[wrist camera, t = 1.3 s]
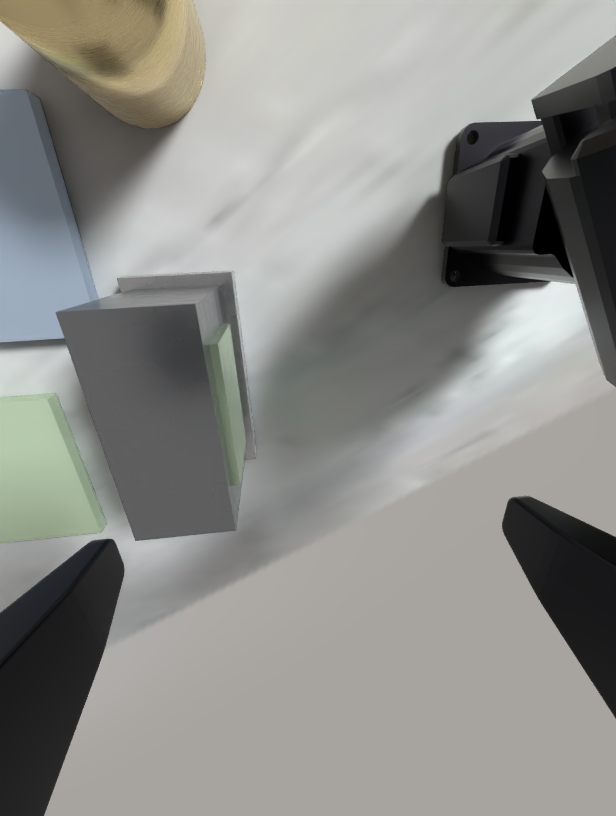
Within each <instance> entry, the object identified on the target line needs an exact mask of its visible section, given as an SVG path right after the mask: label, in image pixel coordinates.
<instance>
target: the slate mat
mask: <svg viewBox="0 0 616 816" xmlns="http://www.w3.org/2000/svg"><path fill="white" fill-rule="evenodd" d="M95 300H98V296H97V292H96V289H95V286H94V282H93V279H92V275H91V272H90V268H89V265H88V262H87V258H86V255H85V251H84V248H83V245H82V241H81V238H80V234H79V231H78V228H77V224H76V221H75V217H74V214H73V211H72V207H71V204H70V200H69V197H68V194H67V190H66V187H65V183H64V180H63V177H62V173H61V170H60V166H59V163H58V160H57V156H56V153H55V149H54V146H53V143H52V139H51V136H50V132H49V129H48V125H47V122H46V119H45V115H44V112H43V108H42V105H41V102H40V98H38V97H37V96H35V95H34V94H32V93H31V92H29V91H28V90H26V89H23V90H0V342H13V341H29V340H44V339H60V338H64V336H63V333H62V330H61V327H60V324H59V321H58V318H57V316H56V313H55V312H57V311H61V310H64V309H67V308H71V307H74V306H78V305H81V304H84V303H88V302H91V301H95Z"/></svg>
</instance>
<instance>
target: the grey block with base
mask: <svg viewBox="0 0 616 816" xmlns="http://www.w3.org/2000/svg"><path fill="white" fill-rule="evenodd" d="M117 280H118V284H119V288H120V292H121V293H118V294H115V295H112V296H108V297H105V298H101V299H98V300H95V301H91V302H88V303H84V304H81V305H78V306H74V307H71V308H67V309H64V310H61V311H57V312H55V313H56V316H57V318H58V321H59V324H60V327H61V330H62V333H63V336H64V338H65V341H66V344H67V347H68V350H69V353H70V355H71V358H72V361H73V364H74V367H75V370H76V373H77V375H78V378H79V381H80V384H81V387H82V390H83V393H84V395H85V398H86V401H87V404H88V407H89V410H90V412H91V415H92V418H93V421H94V424H95V427H96V430H97V432H98V435H99V438H100V441H101V444H102V447H103V450H104V452H105V455H106V458H107V461H108V464H109V467H110V469H111V472H112V475H113V478H114V481H115V484H116V487H117V489H118V492H119V495H120V498H121V501H122V504H123V507H124V509H125V512H126V515H127V518H128V521H129V524H130V526H131V529H132V532H133V535H134V538H135V541H139V540H149V539H159V538H168V537H178V536H187V535H197V534H207V533H216V532H226V531H235V530H236V525H237V517H238V510H239V502H240V494H241V486H242V478H243V470H244V463H245V460H246V459H256V443H255V435H254V427H253V419H252V411H251V403H250V396H249V388H248V380H247V372H246V364H245V356H244V349H243V341H242V333H241V325H240V317H239V309H238V302H237V294H236V286H235V278H234V271H222V272H203V273H185V274H166V275H147V276H129V277H121V278H117Z"/></svg>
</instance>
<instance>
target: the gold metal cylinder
mask: <svg viewBox="0 0 616 816" xmlns="http://www.w3.org/2000/svg"><path fill="white" fill-rule="evenodd" d="M0 21H1V22H2V23H3V24H4V25H5V26H7V27H8V28H9V29H10V30H11V31H13V32H14V33H15V34H16V35H17V36H19V37H20V38H21V39H22V40H23V41H25V42H26V43H27V44H28V45H29V46H31V47H32V48H33V49H34V50H35V51H37V52H38V53H39V54H40V55H41V56H43V57H44V58H45V59H46V60H47V61H49V62H50V63H51V64H52V65H53V66H55V67H56V68H57V69H58V70H59V71H61V72H62V73H63V74H64V75H65V76H67V77H68V78H69V79H70V80H71V81H72V82H74V83H75V84H76V85H77V86H78V87H80V88H81V89H82V90H83V91H84V92H86V93H87V94H88V95H89V96H90V97H92V98H93V99H94V100H95V101H96V102H98V103H99V104H100V105H101V106H102V107H104V108H105V109H106V110H107V111H108V112H110V113H111V114H112V115H114V116H115V117H117V118H118V119H120V120H122V121H124V122H126V123H128V124H131V125H134V126H137V127H142V128H161V127H165V126H168V125H170V124H173V123H175V122H176V121H178V120H179V119H181V118H182V117H183V116H184V115H185V114H186V113H187V112H188V111H189V110H190V109H191V107H192V106H193V105H194V103H195V101H196V99H197V97H198V95H199V93H200V90H201V87H202V84H203V79H204V74H205V61H206V54H205V43H204V37H203V32H202V28H201V25H200V21H199V18H198V15H197V12H196V8H195V5H194V2H193V0H0Z"/></svg>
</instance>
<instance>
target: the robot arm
mask: <svg viewBox="0 0 616 816" xmlns="http://www.w3.org/2000/svg"><path fill="white" fill-rule="evenodd" d="M531 101H532V104H533V108H534V111H535V115H536V118H537V119H541V121H522V122H483V123H472V124H469V125H468V126H466V127H465V128H463V129H462V130H461V132H460V133H459V135H458V138H457V143H456V152H455V161H454V170H453V177H452V178H451V179H450V180H449V181H448V186H447V195H446V205H445V214H444V223H443V232H442V243H443V244H444V245H445V249H444V258H443V267H442V276H441V277H442V282H443V284H445V285H446V286H451V287H460V286H477V285H494V284H511V283H528V282H545V281H555V282H563V283H572V284H576V287H577V290H578V293H579V297H580V300H581V303H582V306H583V310H584V313H585V316H586V320H587V323H588V326H589V330H590V333H591V336H592V340H593V343H594V346H595V349H596V353H597V356H598V359H599V363H600V365H601V368H602V370H603V372H604V375H605V377H606V379H607V381H609V382H610V383H611V384H613V385H614V386H615V387H616V36H614V37H613V38H612V39H610V40H609V41H608V42H606V43H605V44H604V45H602V46H601V47H600V48H598V49H597V50H596V51H595V52H593V53H592V54H591V55H589V56H588V57H587V58H585V59H584V60H583V61H581V62H580V63H579V64H577V65H576V66H575V67H573V68H572V69H571V70H570V71H568V72H567V73H566V74H564V75H563V76H562V77H560V78H559V79H558V80H556V81H555V82H554V83H552V84H551V85H550V86H549V87H547V88H546V89H545V90H543V91H542V92H541V93H539V94H538V95H537V96H535V97H534V98H533V99H532V100H531ZM469 133H471V134H472V135H473V138H474V141H473V144H472V145H470V144H469V143H468V142H467V136H468V134H469ZM453 271H455V272H456V277H455V279H454V280H452V281H451V280H450V275H451V273H452V272H453ZM502 529H503V532H504V535H505V537H506V539H507V541H508V543H509V545H510V546H511V548H512V550H513V552H514V554H515V556H516V558H517V560H518V562H519V563H520V565H521V567H522V569H523V571H524V573H525V575H526V577H527V579H528V581H529V583H530V584H531V586H532V588H533V590H534V592H535V593H536V595H537V597H538V599H539V600H540V602H541V604H542V605H543V607H544V608H545V610H546V612H547V613H548V614H549V616H550V618H551V619H552V621H553V622H554V624H555V625H556V627H557V628H558V630H559V631H560V633H561V635H562V636H563V638H564V639H565V641H566V642H567V644H568V645H569V647H570V648H571V650H572V651H573V653H574V655H575V656H576V658H577V659H578V661H579V662H580V664H581V666H582V667H583V669H584V670H585V672H586V673H587V675H588V676H589V678H590V679H591V681H592V682H593V684H594V686H595V687H596V689H597V690H598V691H599V693H600V695H601V696H602V698H603V699H604V701H605V703H606V704H607V706H608V707H609V709H610V710H611V712H612V713H613V715H614V716H615V718H616V537H614V536H612V535H610V534H608V533H606V532H604V531H602V530H600V529H597V528H595V527H593V526H591V525H589V524H587V523H585V522H583V521H581V520H579V519H577V518H574V517H572V516H570V515H568V514H566V513H564V512H562V511H560V510H558V509H556V508H553V507H551V506H549V505H547V504H545V503H543V502H541V501H538V500H537V499H534V498H532V497H530V496H519V497H512V498H510V499H509V501H508V503H507V507H506V511H505V514H504V518H503V522H502ZM123 577H124V564H123V561H122V559H121V556H120V553H119V551H118V548H117V546H116V543H115V541H114V540H112V539H101V540H94V541H91V542H89V543H88V544H87V545H85V546H84V547H83V548H82V549H80V550H79V551H78V552H76V553H75V554H74V555H73V556H71V557H70V558H69V559H68V560H66V561H65V562H64V563H63V564H61V565H60V566H59V567H57V568H56V569H55V570H54V571H52V572H51V573H50V574H49V575H47V576H46V577H45V578H44V579H42V580H41V581H40V582H39V583H37V584H36V585H35V586H33V587H32V588H31V589H30V590H28V591H27V592H26V593H25V594H23V595H22V596H21V597H20V598H18V599H17V600H16V601H14V602H13V603H12V604H11V605H9V606H8V607H7V608H6V609H4V610H3V611H2V612H1V613H0V816H44V814H45V811H46V809H47V806H48V803H49V801H50V797H51V795H52V792H53V790H54V787H55V784H56V781H57V779H58V776H59V773H60V770H61V768H62V765H63V762H64V760H65V756H66V754H67V751H68V749H69V746H70V743H71V740H72V738H73V735H74V732H75V730H76V726H77V724H78V721H79V719H80V716H81V713H82V710H83V708H84V705H85V702H86V700H87V697H88V694H89V691H90V688H91V686H92V683H93V680H94V678H95V675H96V672H97V670H98V667H99V664H100V661H101V658H102V655H103V652H104V649H105V645H106V642H107V639H108V635H109V631H110V627H111V623H112V619H113V616H114V612H115V608H116V604H117V600H118V596H119V593H120V589H121V585H122V581H123Z"/></svg>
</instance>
